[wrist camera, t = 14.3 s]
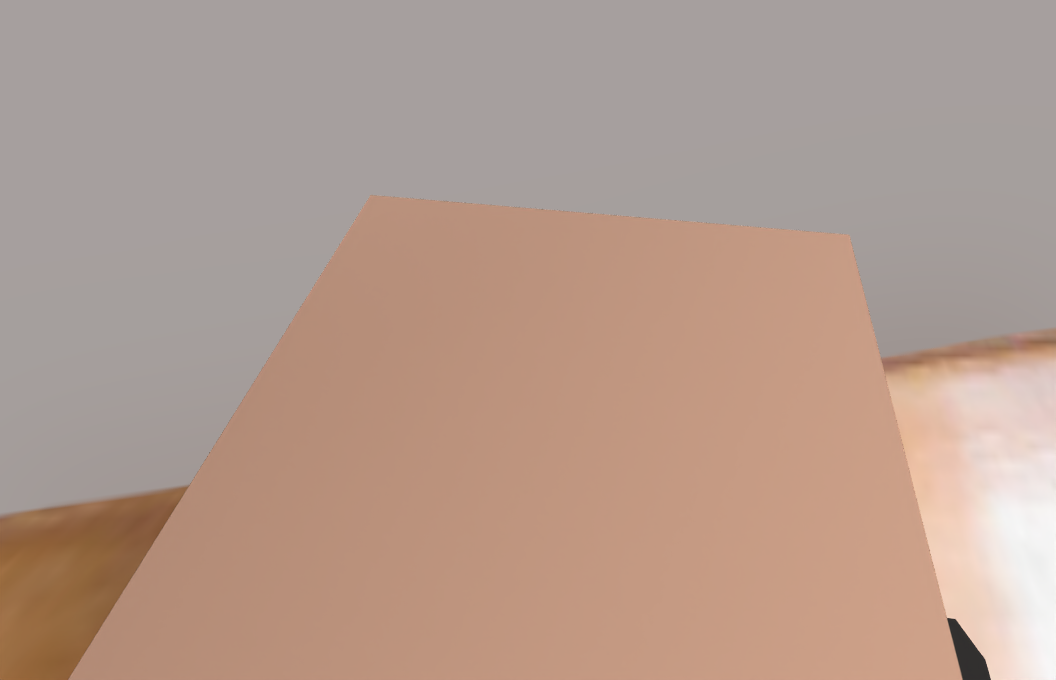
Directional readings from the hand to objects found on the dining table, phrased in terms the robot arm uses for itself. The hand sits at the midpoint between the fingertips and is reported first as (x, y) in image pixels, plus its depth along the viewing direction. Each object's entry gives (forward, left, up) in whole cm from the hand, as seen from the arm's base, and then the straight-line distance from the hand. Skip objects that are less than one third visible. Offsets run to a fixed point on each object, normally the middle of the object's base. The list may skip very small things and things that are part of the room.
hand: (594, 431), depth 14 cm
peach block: (0, +5, -6) cm, 8 cm away
